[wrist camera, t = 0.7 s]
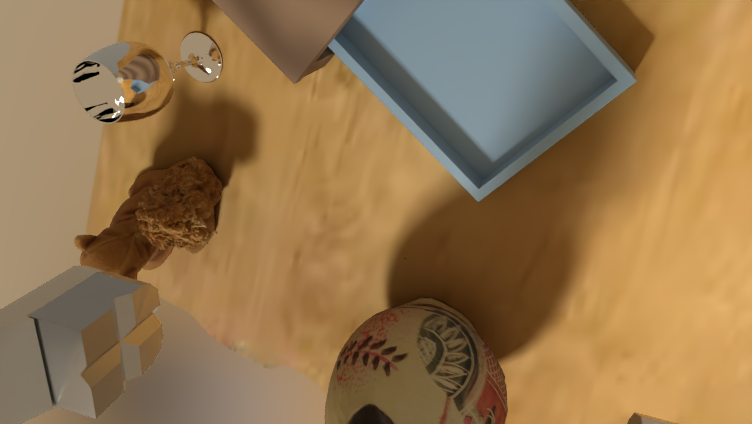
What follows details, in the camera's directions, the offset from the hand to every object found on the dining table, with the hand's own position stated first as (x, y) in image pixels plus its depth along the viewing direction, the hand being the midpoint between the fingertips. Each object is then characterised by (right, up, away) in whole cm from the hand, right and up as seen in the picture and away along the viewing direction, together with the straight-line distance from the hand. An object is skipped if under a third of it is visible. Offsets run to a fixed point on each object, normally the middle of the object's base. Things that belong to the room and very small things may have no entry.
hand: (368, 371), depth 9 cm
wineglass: (-16, +17, +39) cm, 45 cm away
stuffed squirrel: (-19, +5, +47) cm, 51 cm away
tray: (+7, +15, +31) cm, 35 cm away
